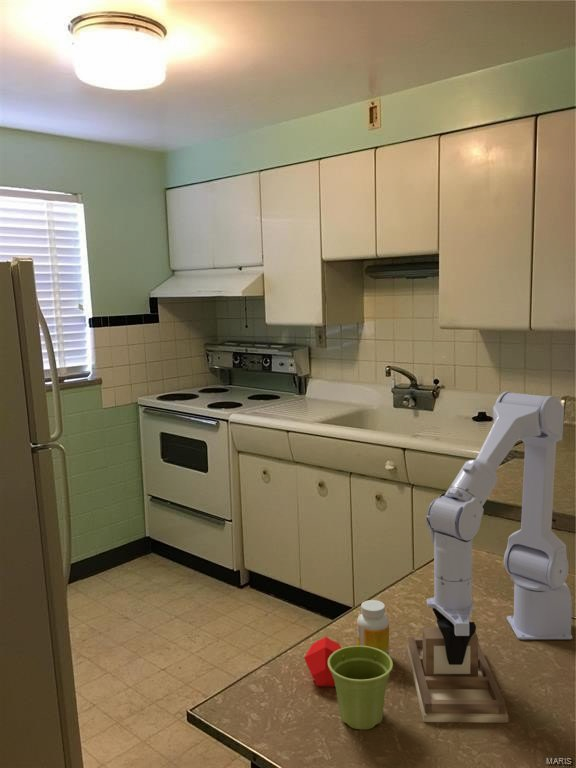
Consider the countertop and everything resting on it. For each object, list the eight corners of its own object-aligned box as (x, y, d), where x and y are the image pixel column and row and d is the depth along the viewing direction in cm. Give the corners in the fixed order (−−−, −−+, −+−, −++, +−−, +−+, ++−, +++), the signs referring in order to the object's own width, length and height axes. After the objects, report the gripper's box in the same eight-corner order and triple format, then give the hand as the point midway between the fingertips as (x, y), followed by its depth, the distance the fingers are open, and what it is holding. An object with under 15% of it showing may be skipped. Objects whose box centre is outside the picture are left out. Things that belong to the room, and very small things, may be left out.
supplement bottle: (350, 657, 113) (350, 604, 112) (372, 646, 116) (372, 595, 115) (374, 670, 109) (373, 615, 108) (395, 659, 112) (395, 605, 111)
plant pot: (329, 738, 93) (328, 680, 91) (328, 698, 102) (327, 645, 101) (396, 738, 92) (396, 680, 91) (389, 698, 101) (389, 644, 100)
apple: (343, 665, 101) (342, 623, 108) (300, 670, 102) (302, 628, 109) (352, 694, 104) (351, 652, 111) (310, 698, 106) (312, 656, 113)
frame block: (472, 668, 106) (473, 627, 106) (478, 681, 103) (478, 638, 102) (422, 668, 107) (422, 627, 106) (426, 680, 103) (426, 638, 102)
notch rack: (476, 649, 115) (476, 635, 114) (508, 722, 95) (508, 706, 94) (406, 649, 115) (406, 635, 115) (423, 721, 95) (423, 705, 95)
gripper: (420, 556, 110) (420, 633, 112) (434, 594, 96) (434, 682, 98) (463, 555, 110) (462, 633, 111) (484, 594, 95) (483, 682, 97)
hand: (452, 656), depth 104 cm, fingers closed on frame block, 3 cm apart
